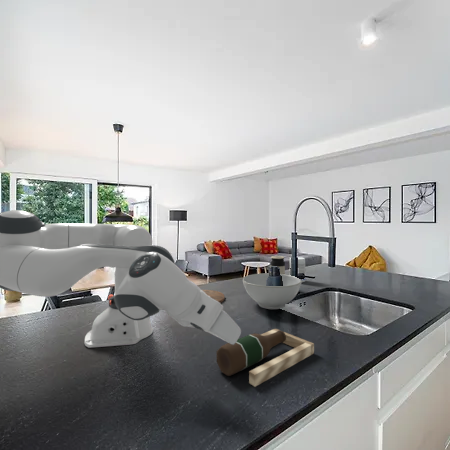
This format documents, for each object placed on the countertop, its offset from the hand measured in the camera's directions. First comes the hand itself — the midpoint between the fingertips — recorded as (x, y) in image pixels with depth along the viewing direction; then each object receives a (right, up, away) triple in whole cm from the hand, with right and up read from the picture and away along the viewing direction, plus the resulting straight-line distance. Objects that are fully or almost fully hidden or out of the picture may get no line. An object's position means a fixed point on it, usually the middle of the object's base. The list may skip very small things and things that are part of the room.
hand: (222, 335), depth 72 cm
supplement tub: (+46, -7, +106) cm, 116 cm away
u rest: (+12, -11, +11) cm, 20 cm away
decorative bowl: (+22, -9, +60) cm, 65 cm away
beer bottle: (0, -8, +2) cm, 8 cm away
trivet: (-12, -10, +70) cm, 72 cm away
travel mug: (+31, -8, +89) cm, 95 cm away
